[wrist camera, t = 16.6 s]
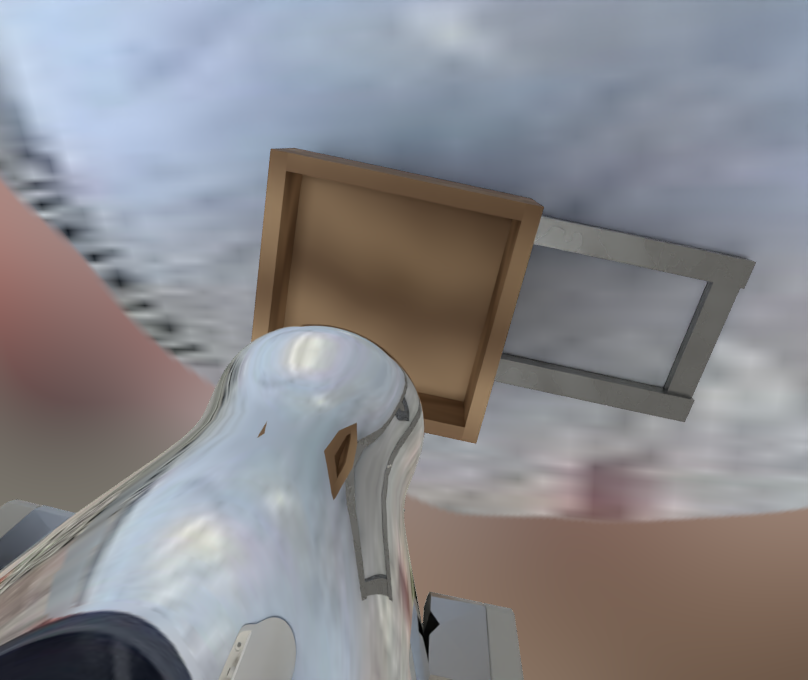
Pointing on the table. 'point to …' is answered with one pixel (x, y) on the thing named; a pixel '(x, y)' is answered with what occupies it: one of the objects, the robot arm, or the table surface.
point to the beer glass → (243, 536)
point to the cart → (398, 271)
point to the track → (696, 347)
